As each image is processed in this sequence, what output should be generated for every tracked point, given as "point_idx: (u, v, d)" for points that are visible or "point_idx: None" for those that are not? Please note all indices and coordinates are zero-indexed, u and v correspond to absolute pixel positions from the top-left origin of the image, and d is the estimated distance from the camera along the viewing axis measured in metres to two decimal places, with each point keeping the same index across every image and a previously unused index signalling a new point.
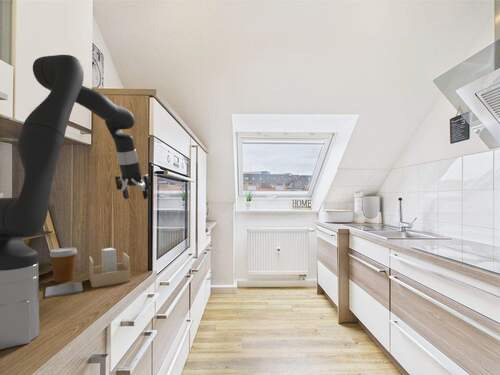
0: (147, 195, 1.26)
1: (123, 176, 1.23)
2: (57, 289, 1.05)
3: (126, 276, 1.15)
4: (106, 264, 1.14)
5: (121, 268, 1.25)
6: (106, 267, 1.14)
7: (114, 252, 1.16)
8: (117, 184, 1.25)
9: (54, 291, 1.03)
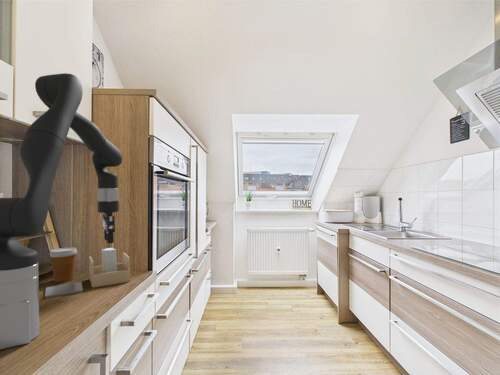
0: (111, 240, 1.13)
1: (104, 215, 1.20)
2: (57, 289, 1.05)
3: (126, 276, 1.15)
4: (106, 264, 1.14)
5: (121, 268, 1.25)
6: (106, 267, 1.14)
7: (114, 252, 1.16)
8: None
9: (54, 291, 1.03)
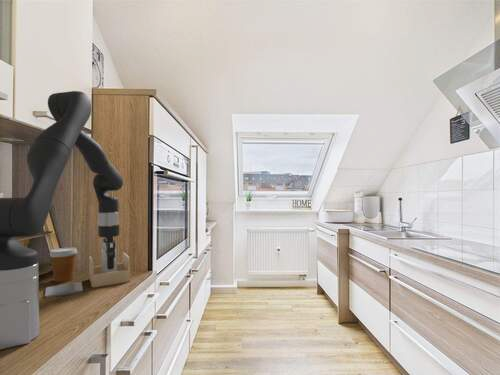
0: (111, 265, 1.14)
1: None
2: (57, 289, 1.05)
3: (126, 276, 1.15)
4: (106, 264, 1.14)
5: (121, 268, 1.25)
6: (106, 267, 1.14)
7: None
8: None
9: (54, 291, 1.03)
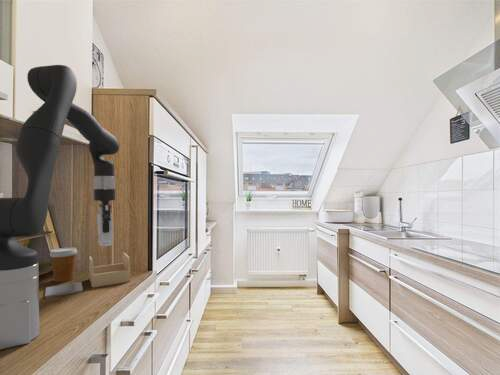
0: (106, 229, 1.13)
1: None
2: (57, 289, 1.05)
3: (126, 276, 1.15)
4: (102, 227, 1.13)
5: (121, 268, 1.25)
6: (102, 230, 1.13)
7: (110, 216, 1.15)
8: None
9: (54, 291, 1.03)
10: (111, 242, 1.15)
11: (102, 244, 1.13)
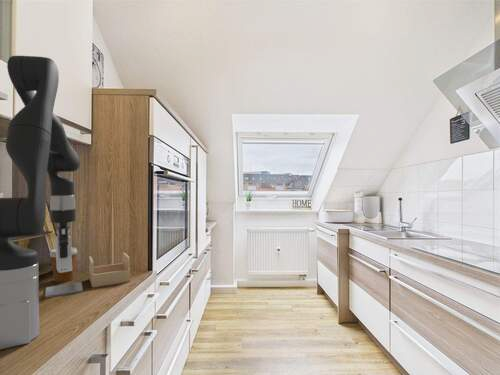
0: (64, 254, 1.03)
1: None
2: (57, 289, 1.05)
3: (126, 276, 1.15)
4: (59, 252, 1.03)
5: (121, 268, 1.25)
6: (59, 256, 1.03)
7: None
8: None
9: (54, 291, 1.03)
10: (70, 268, 1.05)
11: (59, 270, 1.03)
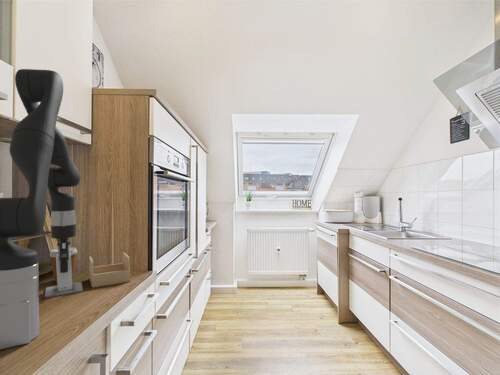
0: (64, 269, 1.02)
1: None
2: (57, 289, 1.05)
3: (126, 276, 1.15)
4: (58, 271, 1.03)
5: (121, 268, 1.25)
6: (59, 274, 1.03)
7: (68, 257, 1.05)
8: None
9: (54, 291, 1.03)
10: (70, 286, 1.05)
11: (59, 289, 1.03)
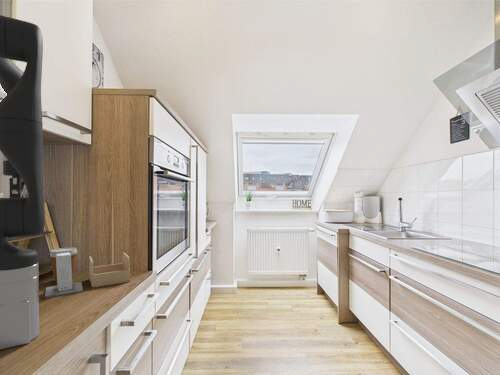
0: None
1: None
2: (57, 289, 1.05)
3: (126, 276, 1.15)
4: (58, 271, 1.03)
5: (121, 268, 1.25)
6: (59, 274, 1.03)
7: (68, 257, 1.05)
8: None
9: (54, 291, 1.03)
10: (70, 286, 1.05)
11: (59, 289, 1.03)
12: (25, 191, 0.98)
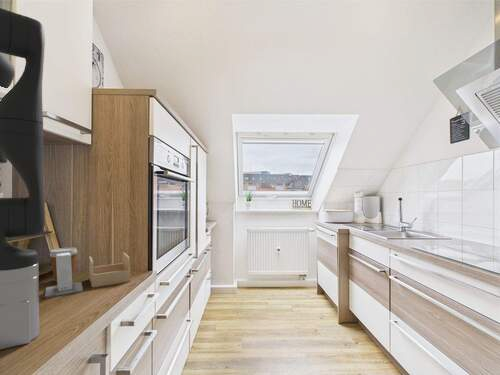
0: None
1: None
2: (57, 289, 1.05)
3: (126, 276, 1.15)
4: (59, 271, 1.03)
5: (121, 268, 1.25)
6: (59, 274, 1.03)
7: (68, 257, 1.05)
8: None
9: (54, 291, 1.03)
10: (70, 286, 1.05)
11: (59, 289, 1.03)
12: None
